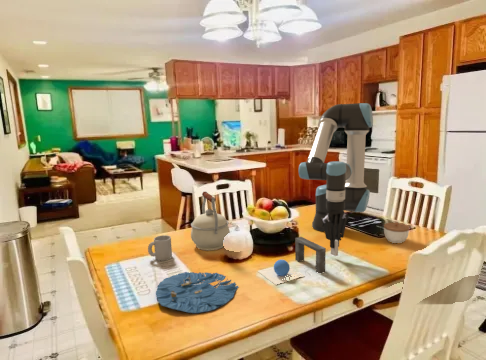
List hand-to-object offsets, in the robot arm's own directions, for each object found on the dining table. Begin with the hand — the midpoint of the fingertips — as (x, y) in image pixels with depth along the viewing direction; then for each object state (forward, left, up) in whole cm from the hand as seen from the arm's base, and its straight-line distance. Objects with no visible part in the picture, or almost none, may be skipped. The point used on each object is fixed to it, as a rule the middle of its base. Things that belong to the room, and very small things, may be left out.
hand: (334, 254), depth 142 cm
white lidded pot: (0, +38, -2) cm, 38 cm away
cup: (-40, -63, -2) cm, 75 cm away
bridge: (0, -13, -2) cm, 13 cm away
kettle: (-44, -38, -2) cm, 58 cm away
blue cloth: (-5, -60, -3) cm, 60 cm away
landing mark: (0, -27, -2) cm, 27 cm away
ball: (+1, -27, +1) cm, 27 cm away
